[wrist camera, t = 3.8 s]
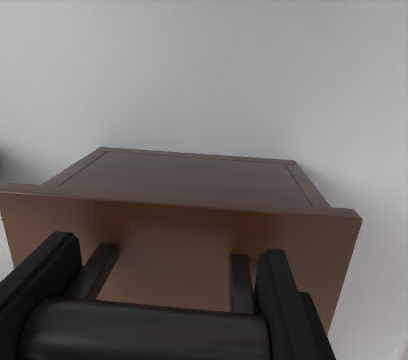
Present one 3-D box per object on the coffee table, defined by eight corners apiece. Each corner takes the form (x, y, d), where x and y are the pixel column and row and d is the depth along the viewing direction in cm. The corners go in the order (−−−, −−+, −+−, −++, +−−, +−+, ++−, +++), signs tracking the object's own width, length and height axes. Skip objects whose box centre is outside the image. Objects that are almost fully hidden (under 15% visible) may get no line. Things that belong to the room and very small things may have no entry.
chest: (99, 146, 19) (14, 199, 11) (295, 160, 19) (347, 225, 11) (114, 308, 25) (63, 420, 17) (265, 322, 24) (285, 444, 16)
